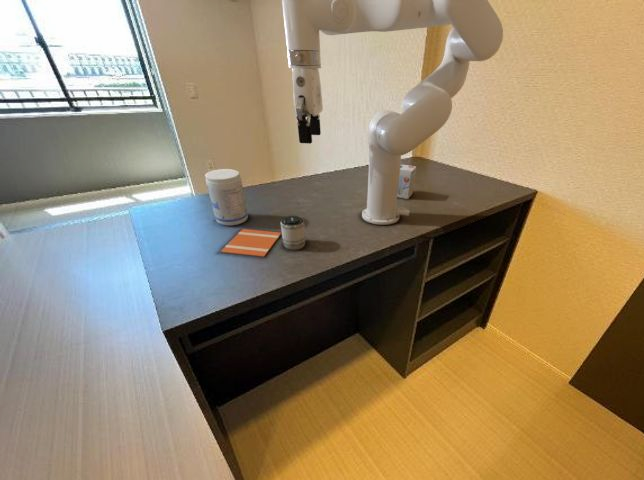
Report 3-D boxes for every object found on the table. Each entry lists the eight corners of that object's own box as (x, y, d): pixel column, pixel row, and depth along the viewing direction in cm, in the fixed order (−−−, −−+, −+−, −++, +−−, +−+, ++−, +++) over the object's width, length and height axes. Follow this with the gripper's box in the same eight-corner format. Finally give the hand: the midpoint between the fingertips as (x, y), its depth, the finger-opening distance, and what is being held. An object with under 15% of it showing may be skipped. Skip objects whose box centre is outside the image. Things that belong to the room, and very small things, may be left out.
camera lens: (285, 252, 80) (282, 225, 76) (281, 241, 85) (278, 215, 80) (308, 248, 82) (306, 222, 78) (303, 237, 87) (301, 212, 82)
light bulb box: (382, 194, 116) (384, 166, 110) (387, 189, 121) (389, 162, 115) (408, 199, 113) (412, 171, 107) (413, 193, 118) (416, 166, 112)
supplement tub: (210, 219, 94) (197, 173, 85) (238, 210, 100) (228, 166, 91) (227, 230, 89) (215, 181, 80) (254, 219, 95) (246, 173, 86)
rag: (281, 233, 88) (281, 232, 88) (264, 257, 78) (264, 255, 78) (243, 229, 89) (242, 228, 89) (220, 252, 79) (220, 251, 79)
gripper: (311, 61, 62) (316, 147, 72) (327, 60, 76) (330, 132, 86) (276, 60, 63) (286, 146, 73) (299, 59, 77) (305, 131, 87)
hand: (310, 138), depth 80 cm, fingers open, 9 cm apart
